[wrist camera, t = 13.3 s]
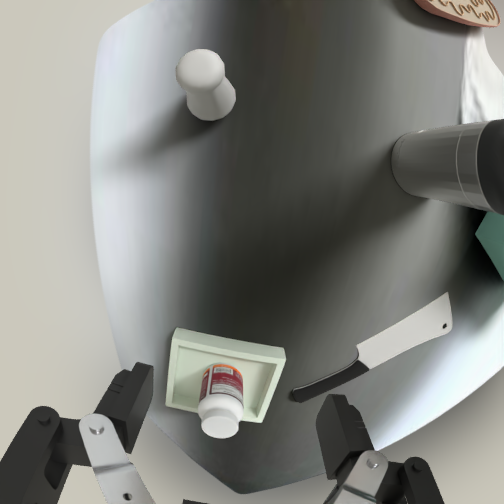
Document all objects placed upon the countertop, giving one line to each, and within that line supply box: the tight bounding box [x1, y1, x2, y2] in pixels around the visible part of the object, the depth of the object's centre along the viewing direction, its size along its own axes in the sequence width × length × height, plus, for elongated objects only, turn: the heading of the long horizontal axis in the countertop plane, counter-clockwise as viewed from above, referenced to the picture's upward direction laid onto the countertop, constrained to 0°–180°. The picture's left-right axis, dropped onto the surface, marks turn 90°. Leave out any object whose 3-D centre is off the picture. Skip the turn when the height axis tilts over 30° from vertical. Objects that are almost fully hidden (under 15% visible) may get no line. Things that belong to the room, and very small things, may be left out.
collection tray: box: [165, 327, 286, 423], centre depth 41 cm, size 16×14×3 cm
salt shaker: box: [176, 49, 236, 121], centre depth 26 cm, size 6×6×13 cm
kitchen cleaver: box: [293, 292, 452, 403], centre depth 42 cm, size 31×2×10 cm
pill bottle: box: [198, 363, 244, 438], centre depth 37 cm, size 6×6×11 cm
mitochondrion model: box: [414, 0, 500, 27], centre depth 25 cm, size 23×10×5 cm, turn 106°
